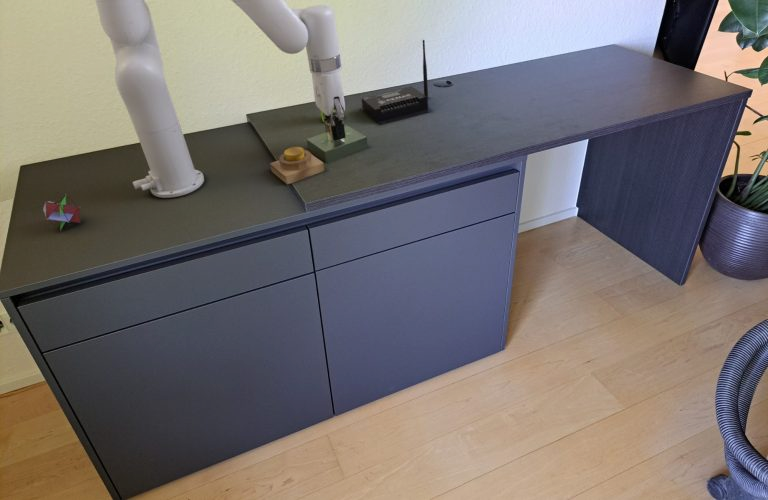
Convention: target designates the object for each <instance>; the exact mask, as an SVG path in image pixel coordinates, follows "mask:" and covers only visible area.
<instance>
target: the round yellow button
mask: <svg viewBox="0 0 768 500" xmlns="http://www.w3.org/2000/svg"><path fill="white" fill-rule="evenodd" d="M304 150H305V149H304V148H303V147H301V146H293V147H288V148H287V149H284V152H283V153H284V154H285V159H286V161H298V160H301V159H303V158H304V157H305V155H304Z"/></svg>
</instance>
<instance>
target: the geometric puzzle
mask: <svg viewBox="0 0 768 500" xmlns="http://www.w3.org/2000/svg"><path fill="white" fill-rule="evenodd" d="M57 198H60V196H59V197H57ZM66 198H68V199H69V200H70V201H71V202H72V203H74V205H71V204H67V199H66ZM42 211H43V213H44V216H45V219H46V220H48V221H55V222H59V227H60V228H58V230H59V232H61V231H62V230H66V229H67V228H66V226H67V225H68V224H70V223H71V224H74V225H72V227H75V224H81V206H79V205H77V204H76V203H75V202H74V201H73V200H72V199H71V198H70V197H69V196H68V195H67V194H64V195H63V196H62V198H61V199H60V200H59V201H58V202H54V201H52V200H47V201H44V206H43V208H42ZM51 224H52V225H53V226H55V224H54V223H53V222H51ZM64 228H65V229H64Z"/></svg>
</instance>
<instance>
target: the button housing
mask: <svg viewBox="0 0 768 500" xmlns="http://www.w3.org/2000/svg"><path fill="white" fill-rule="evenodd" d="M304 155H305V157H304V158H303V159H301V160H298V161H286V159H285V154H284V152H283V153H282V154H281V155H279V157H278V160H275V161H272V162H270V163H269V166H270V171H271V172H272V173H273V174H274V175H275V176H276V177H277V178H279V179H280V180H281V181H282V182H283V183H285V184H286V185H290V184H292V183H296V182H299V181H301V180H303V179H306V178H309V177H312V176H314V175H318V174H320V173H323V172H325V163H324V162H323V161H322V160H320V159H319V158H317V157H316V155H313V153H312V152H311V151H310V150H308V149H304Z"/></svg>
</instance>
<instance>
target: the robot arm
mask: <svg viewBox="0 0 768 500" xmlns="http://www.w3.org/2000/svg"><path fill="white" fill-rule="evenodd" d="M94 1H95V3H96V7H97V11H98V16H99V21H100V25H101V27H102V29H103V31H104V33H105V35H107V37H108V38H109V39H110V43H111V46H112V49H113V53H114V56H115V60H116V62H115V67H114V79H115V80H114V81H115V84H116V87H117V90H118V93H119V95H120V97H121V99H122V102H123V104H124V106H125V108H126V110H127V112H128V115H129V117H130V121H131V123H132V126H133V129H134V131H135V133H136V135H137V138H138V141H139V143H140V146H141V148H142V152H143V155H144V157H145V159H146V162H147V165H148V167H149V170H148V171H147V173H148V175H146V176H145V178H141V179H138V180H135V181H132V185H133V188H134V189H135V190H139V189H141V190H142V191H143V192H145V191H147V190H150V192H151V194H152V196H154V197H157V198H160V199H161V198H162V199H170V198H171V199H172V198H177V197H181V196H185V195H188V194H191V193H193V192H195V191H196V190H197V189H199V188H200V187H201V186H202V185H203V184H204V182H205V177H204V174H203V172H202V171H200V170H198V169H195V166H194V163H193V161H192V157H191V155H190V150H189V147H188V145H187V141H186V139H185V135H184V132H183V129H182V125H181V124H180V120H179V118H178V114H177V111H176V108H175V105H174V103H173V99H172V96H171V94H170V91H169V88H168V84H167V82H166V76H165V73H164V72H165V71H164V63H163V58H162V54H161V49H160V46H159V42H158V39H157V34H156V30H155V26H154V22H153V17H152V13H151V10H150V7H149V6H148V4H147V2H146V1H145V0H94ZM231 1H232V2H233V4H235V6H237V7H238V8H239V9H240V10H241V11H243V12H244V14H245V15H246V16H247V17H248V18H249V19H250V20H251V21H252V22H253V23H254V24H255V25H256V26H257V27H258V28H259V29H260V30H261V31H262V32H263V33H264V34H265V36H266V37H267V38H268V39H269V40H270V41H271V42H272V43H273V44H274V46H275V47H277V48H278V49H279V50H280V51H281V52H283V53H285V54H289V55H294V54H298V53H301V52H302V51H304V49H306V56H307V62H308V68H309V72H310V74H311V78H312V79H311V80H312V89H313V97H314V104H315V105H316V108H318V109H319V110H320V112H321V111H322V112H323V116H324V122H323V123H324V128H325V130H326V125H325V121H326V120H328V119H330V118H331V122H332V125H331V130H332V137H333V140H334V141H336V140H340V139H344V138H345V137H346V136H345V129H344V126H345V121H344V119H345V115H344V112H345V110H346V102H345V101H346V100H345V95H344V89H343V84H342V79H341V75H340V71H341V69H342V61H341V53H340V52H341V51H340V45H339V39H338V30H337V24H336V15H335V11H334V9H333V7H332V6H330V5H326V4H319V5H311V6H308V7H306V8H295V9H294V8H291V7H290V6H289V5H288V4H287V3H286V1H285V0H231ZM334 110H336V112H335V111H334ZM334 115H337V117H336V116H334ZM334 118H335V119H334ZM325 133H327V132H326V131H325Z"/></svg>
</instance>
